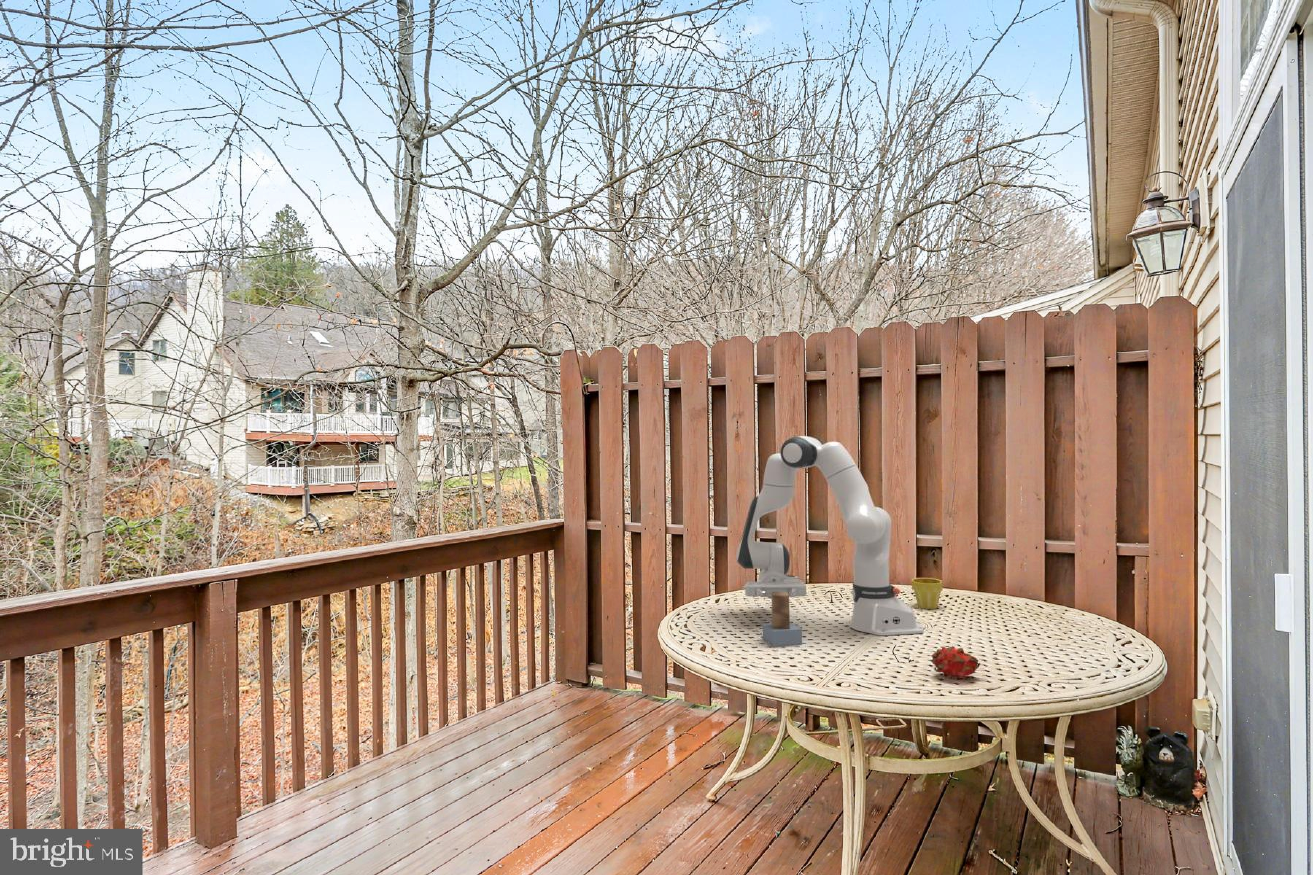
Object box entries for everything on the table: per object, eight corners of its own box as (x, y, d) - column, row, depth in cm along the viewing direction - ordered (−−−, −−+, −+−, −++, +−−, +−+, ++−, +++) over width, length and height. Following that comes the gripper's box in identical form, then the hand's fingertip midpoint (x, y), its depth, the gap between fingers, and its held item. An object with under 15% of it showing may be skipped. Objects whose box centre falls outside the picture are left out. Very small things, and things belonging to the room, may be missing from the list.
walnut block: (788, 624, 199) (787, 591, 199) (789, 628, 194) (789, 595, 194) (771, 624, 200) (771, 591, 200) (773, 628, 195) (772, 595, 195)
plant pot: (916, 610, 230) (915, 583, 230) (909, 603, 240) (908, 577, 240) (946, 610, 228) (945, 583, 228) (938, 603, 238) (937, 577, 239)
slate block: (789, 637, 202) (789, 621, 202) (802, 645, 194) (801, 628, 194) (762, 639, 200) (762, 623, 200) (774, 648, 192) (773, 631, 192)
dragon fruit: (927, 681, 166) (976, 689, 164) (937, 671, 159) (988, 679, 157) (925, 648, 171) (973, 656, 169) (935, 637, 164) (984, 645, 162)
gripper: (742, 576, 223) (744, 584, 209) (802, 576, 221) (808, 584, 207) (743, 594, 222) (745, 604, 209) (803, 594, 221) (809, 604, 207)
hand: (777, 594), depth 208 cm, fingers open, 8 cm apart
